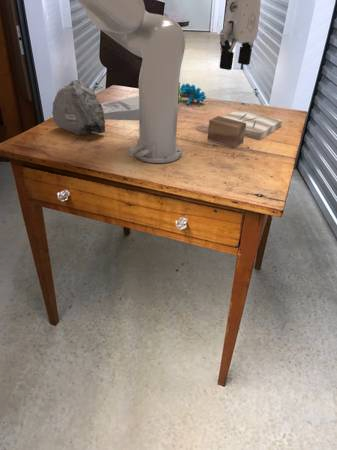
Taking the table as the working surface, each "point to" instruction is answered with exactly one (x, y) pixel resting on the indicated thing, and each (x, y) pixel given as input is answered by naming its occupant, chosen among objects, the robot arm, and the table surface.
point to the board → (255, 123)
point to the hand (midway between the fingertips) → (234, 66)
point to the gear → (191, 93)
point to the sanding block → (226, 131)
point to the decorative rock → (78, 109)
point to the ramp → (122, 109)
